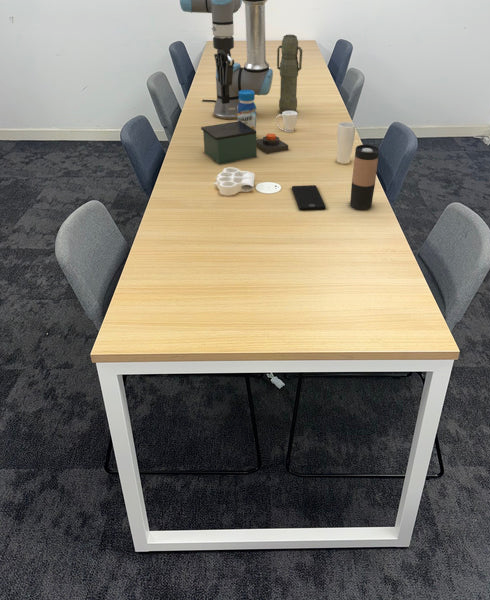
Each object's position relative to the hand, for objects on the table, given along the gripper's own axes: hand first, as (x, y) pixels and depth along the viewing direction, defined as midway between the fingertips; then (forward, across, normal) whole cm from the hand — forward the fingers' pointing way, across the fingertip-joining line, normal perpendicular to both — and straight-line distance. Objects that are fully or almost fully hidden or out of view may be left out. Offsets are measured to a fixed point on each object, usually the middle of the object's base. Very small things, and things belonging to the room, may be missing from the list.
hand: (225, 102), depth 213 cm
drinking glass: (+21, +28, +38) cm, 52 cm away
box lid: (+11, 0, +1) cm, 11 cm away
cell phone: (+21, +51, +8) cm, 55 cm away
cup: (+22, -16, +37) cm, 46 cm away
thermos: (+22, -40, +52) cm, 69 cm away
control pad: (+21, 0, +20) cm, 29 cm away
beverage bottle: (+21, -14, +16) cm, 30 cm away
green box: (+21, 0, +1) cm, 21 cm away
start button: (+17, 0, +20) cm, 27 cm away
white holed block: (+21, +29, -11) cm, 37 cm away
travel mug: (+21, +64, +20) cm, 70 cm away
